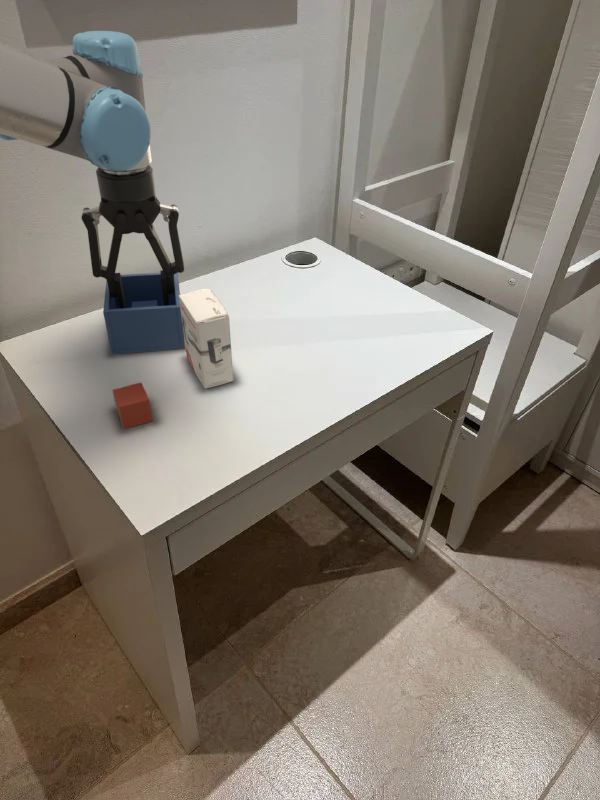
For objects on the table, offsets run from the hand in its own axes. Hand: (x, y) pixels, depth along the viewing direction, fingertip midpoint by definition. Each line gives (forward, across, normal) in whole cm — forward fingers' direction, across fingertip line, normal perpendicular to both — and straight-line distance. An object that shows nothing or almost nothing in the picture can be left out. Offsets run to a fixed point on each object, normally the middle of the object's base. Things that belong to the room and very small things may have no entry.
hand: (145, 311), depth 94 cm
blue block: (+3, 0, 0) cm, 3 cm away
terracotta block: (+4, -2, -21) cm, 21 cm away
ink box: (+4, +9, -12) cm, 16 cm away
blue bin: (+4, 0, 0) cm, 4 cm away
